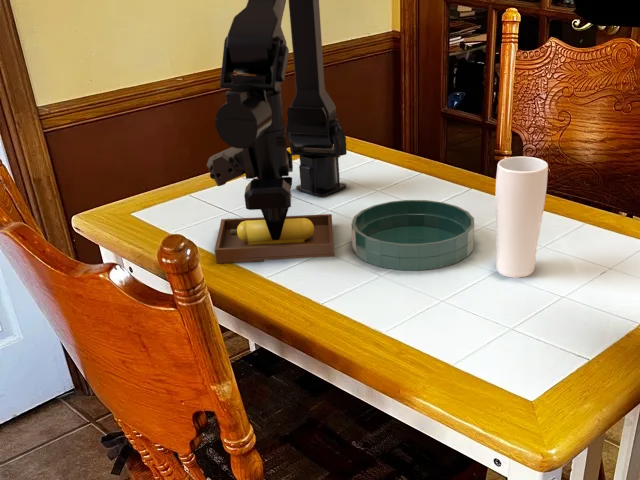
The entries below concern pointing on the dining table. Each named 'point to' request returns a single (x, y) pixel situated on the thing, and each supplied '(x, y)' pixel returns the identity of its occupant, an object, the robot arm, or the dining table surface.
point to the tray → (239, 251)
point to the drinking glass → (519, 213)
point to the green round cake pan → (413, 234)
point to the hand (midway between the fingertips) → (276, 235)
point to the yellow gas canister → (259, 232)
